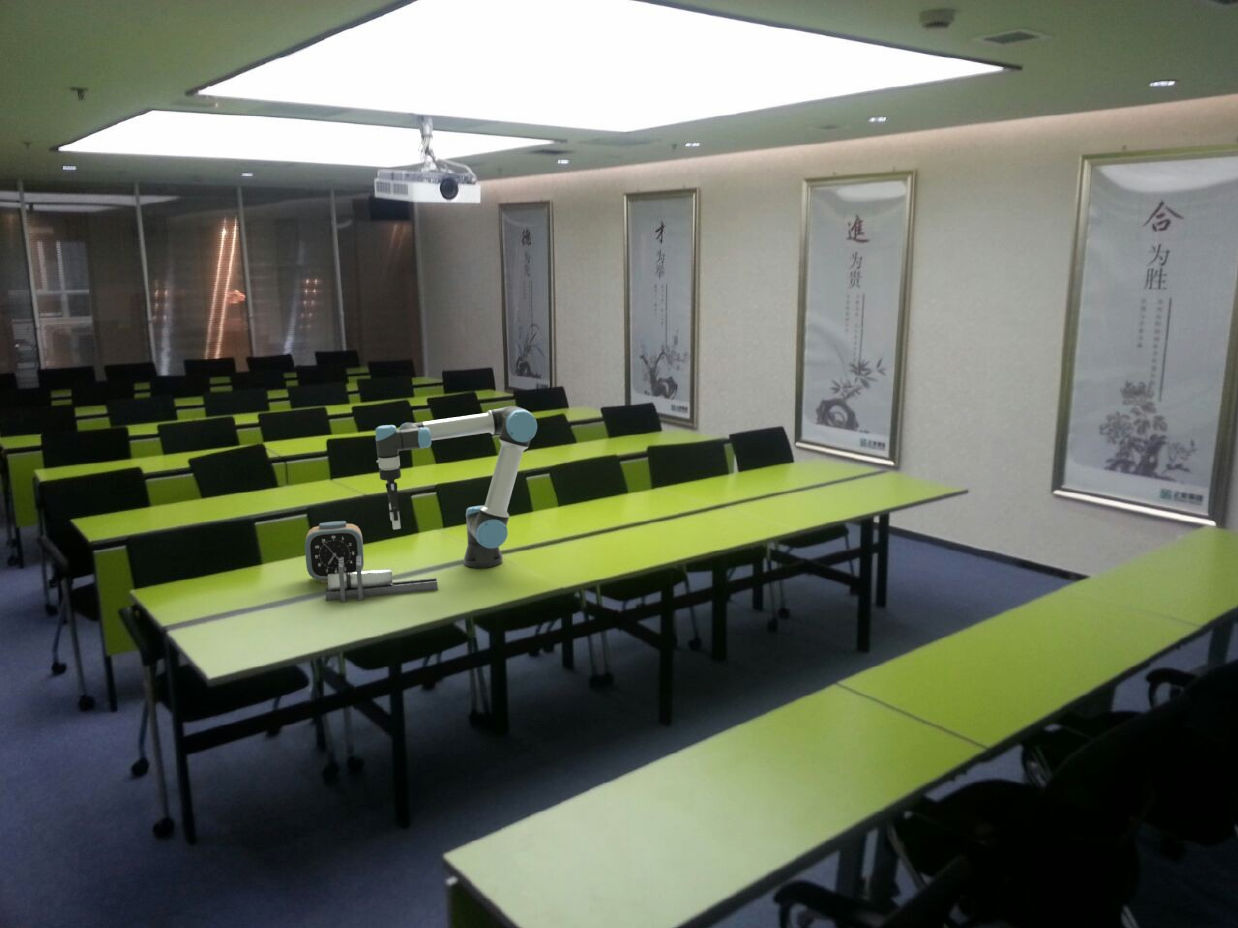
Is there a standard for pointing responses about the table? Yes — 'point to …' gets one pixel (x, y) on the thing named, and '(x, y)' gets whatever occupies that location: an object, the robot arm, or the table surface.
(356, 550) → the alarm clock
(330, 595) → the gray metal rack
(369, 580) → the tube
